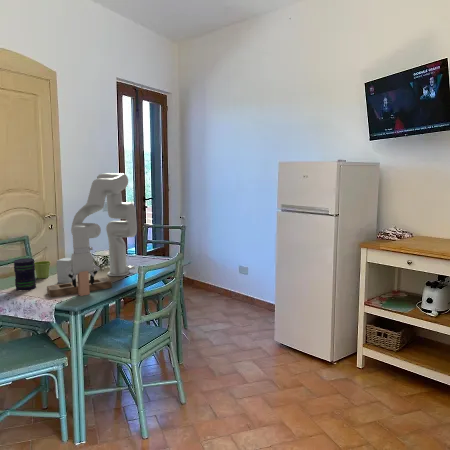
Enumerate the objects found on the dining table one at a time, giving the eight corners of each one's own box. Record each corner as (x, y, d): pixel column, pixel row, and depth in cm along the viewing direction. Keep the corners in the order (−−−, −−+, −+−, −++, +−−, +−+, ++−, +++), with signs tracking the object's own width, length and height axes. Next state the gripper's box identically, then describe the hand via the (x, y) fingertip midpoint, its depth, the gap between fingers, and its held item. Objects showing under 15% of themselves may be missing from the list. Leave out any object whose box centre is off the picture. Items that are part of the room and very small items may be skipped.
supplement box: (69, 283, 225) (68, 260, 224) (57, 282, 227) (55, 260, 225) (76, 279, 232) (75, 257, 231) (65, 279, 234) (63, 257, 232)
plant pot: (30, 279, 235) (29, 264, 234) (41, 274, 244) (40, 260, 243) (44, 280, 233) (43, 264, 232) (55, 275, 242) (54, 261, 241)
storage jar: (16, 287, 219) (13, 259, 217) (36, 284, 223) (34, 257, 221) (15, 292, 210) (12, 263, 208) (36, 289, 214) (34, 261, 212)
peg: (87, 292, 209) (86, 269, 207) (89, 294, 205) (88, 270, 204) (78, 293, 207) (77, 270, 205) (80, 295, 203) (79, 272, 201)
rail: (106, 283, 224) (106, 277, 224) (111, 287, 217) (111, 281, 216) (47, 292, 209) (46, 286, 208) (50, 297, 201) (50, 290, 200)
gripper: (97, 247, 211) (99, 281, 213) (61, 251, 202) (63, 286, 204) (101, 249, 204) (103, 284, 207) (64, 253, 195) (66, 290, 198)
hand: (83, 285), depth 205 cm, fingers open, 7 cm apart
